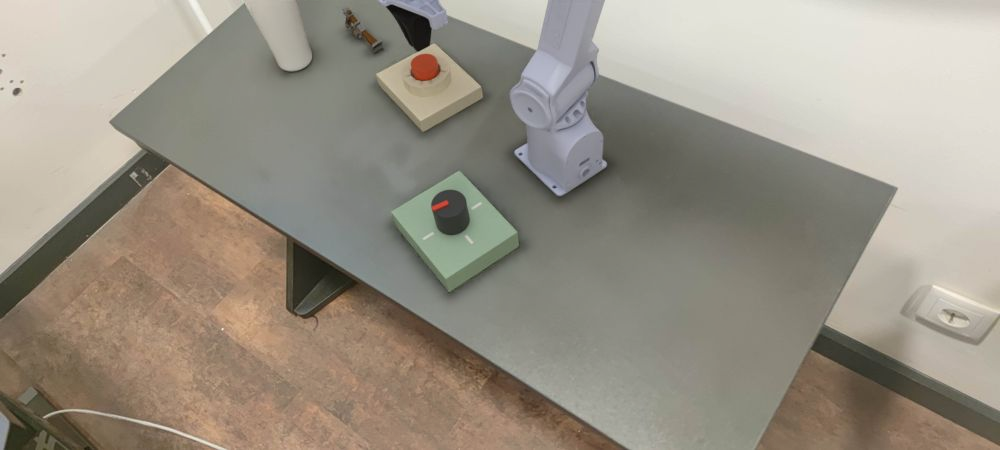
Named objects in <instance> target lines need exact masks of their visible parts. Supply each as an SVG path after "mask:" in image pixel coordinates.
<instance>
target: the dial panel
mask: <svg viewBox="0 0 1000 450" xmlns="http://www.w3.org/2000/svg"><path fill="white" fill-rule="evenodd" d="M444 190H457V191H459V192H461V193H462V194H463V195H464V196H465V198H466V202H467V207H468V212H469V217H470V222H469V225H468V227H467V228H466V229H465V230H464V231H463V232H461V233H459V234H456V235H446V234H444V233H442V232H440V231H439V230H438V228H437V226H436V223H435V219H434V216H433V212H432V208H431V203H432V200H433V198H434V197H435V196H436V195H437V194H438V193H439V192H441V191H444ZM390 214H391V216H392V219H393V222H394V225H395V227H396V228H397V230H398V231H399V233H401V234H402V236H403V237H404V238H405V240H406V241H407V242H408V243H409V245H410V246H411V247H412V249H414V251H415V252H416V253H417V254H418V256H419V257H420V258H421V259H422V260H423V262H424V263H425V264H426V266H427V267H428V268H429V269H430V270H431V272H432V273H433V275H435V277H436V278H437V279H438V280H439V282H440V283H441V284H442V286H444V288H445V289H446V290H447V292H448V293H450V292H452V291H454V290H455V289H456V288H457V289H458V287H460V286H461V285H463V284H464V283H465V282H467V281H469V280H470V279H471V278H473V277H475V276H477V275H478V274H479V273H481V272H482V271H483V270H486V269H487V268H489V267H490V266H492V265H493V264H494V263H496V262H498V261H499V260H501V259H502V258H504V257H505V256H507V255H508V254H510V253H511V252H513V251H514V250H516V249H517V248H519V247H520V244H519V243H520V242H519V234H518V233H519V232H518V231H517V230H516V229H515V228H514V226H513V225H512V224H511V223H510V222H509V221H508V220H507V219H506V218H505V217H504V216H503V215H502V214H501V213H500V211H498V209H497V208H495V207H494V205H493V204H492V203H491V202H490V201H489V200H488V199H487V198H486V196H484V194H482V192H480V191H479V189H478V188H477V187H476V186H475V185H474V184H473V183H472V182H471V181H470V180H469V179H468V177H467V176H465V175H464V173H463V172H462V171H461V170H458V171H456V172H455V173H453V174H451V175H449V176H448V177H446V178H445V179H443V180H441V181H439V182H437V183H436V184H435V185H432V186H431V187H429V188H428V189H426V190H425V191H423V192H420V193H419V194H417V195H416V196H414V197H413V198H411V199H409V200H408V201H406V202H404V203H403V204H401V205H399V206H398V207H395V209H393V210H391V211H390Z"/></svg>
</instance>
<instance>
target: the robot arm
mask: <svg viewBox="0 0 1000 450" xmlns="http://www.w3.org/2000/svg"><path fill="white" fill-rule="evenodd" d="M605 1H606V0H547V5H546V9H545V14H544V17H543V23H542V28H541V31H540V35H539V41H538V46H537V48H536V50H535V52H534V53H533V55H532V57H531V58H530V60H529V61H528V62H527V65H526V66H525V68H524V69H523V71H522V73H521V75H520V80H519V82H517V83H516V84H515V85H514V86H513V87H511V89H510V92H509V100H510V101H509V102H510V105H511V107H512V110H513V111H514V113H515V114H516V116H517V117H518V118H519V119H520V121H522V122H523V123H524V124H525V130H526V143H525V144H522V145H521V146H520V147H518V148H517V149H515V150H514V156H515V157H516V158H517V159H518V160H519V161H520V162H521V163H523V165H524V166H525V167H526V168H527V169H529V170H530V172H532V173H533V175H535V176H536V177H537V178H538V179H539V180H540V181H541V182H542V184H544V185H545V186H546V187H547V188H548V189H549V190H550V191H551V192H552V193H553V194H554V195H555V196H557V197H563V196H565V195H566V194H568V193H569V192H571V191H572V190H574V189H575V188H576V187H578V186H579V185H582V184H583V183H584V182H586V181H587V180H589V179H590V178H593V177H594V176H595V175H597V174H598V173H600V172H601V171H603V170H605V169H606V168H607V167H608V162H607V161H606V160H605V159H603V158H604V157H603V155H604V134H603V133H602V132H601V130H599V128H598V127H596V125H595V123H593V121H592V120H591V118H590V116H589V113H588V110H587V99H588V97H589V89H590V87H593V85H595V84H596V83H597V82H598V79H599V75H600V72H599V66H598V54H599V51H600V48H599V47H598V45H596V44H595V42H594V41H593V39H594V36H595V34H596V30H597V27H598V23H599V20H600V17H601V14H602V11H603V8H604V5H605ZM376 2H377V3H378V4H379V5H380V6H382V7H385V8H386V9H387V10H388V11H389V13H390V15H392V16H393V19H394V20H395V21H396V23H397V25H398V27H399V29H400V30H401V32H402V34H403V36H404V38H405V40H406V41H407V43H408V44H409V46H411V48H413V49H414V50H415V52H416V53H417V52H419V51H421V50H423V49H425V48H427V47H429V46H430V45H431V41H432V31H436V30H438V29H441V28H442V27H444V26H447V25H448V24H449V20H448V13H447V10H446V9H445V7H443V5H442V4H441V2H440V0H376Z"/></svg>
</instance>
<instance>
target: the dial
mask: <svg viewBox="0 0 1000 450" xmlns="http://www.w3.org/2000/svg"><path fill="white" fill-rule="evenodd" d="M431 208H432V212H433V216H434V219H435V223H436V226H437V228H438V230H439V231H440V232H442V233H444V234H446V235H456V234H459V233H461V232H463V231H464V230H465V229H466V228H467V227H468V225H469V222H470V217H469V212H468V207H467V202H466V198H465V196H464V195H463V194H462V193H461V192H459V191H457V190H444V191H441V192H439V193H438V194H437V195H436V196H435V197H434V198H433V200H432V203H431Z"/></svg>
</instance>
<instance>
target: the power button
mask: <svg viewBox="0 0 1000 450" xmlns="http://www.w3.org/2000/svg"><path fill="white" fill-rule="evenodd" d="M411 68H412V73H413V76H414V77H415V78H416V79H417V80H419V81H428V80H432V79H433V78H435V77H436V76H437V75H438V73H439V68H438V63H437V59H436V58H435V56H433V55H431V54H420V55H418V56H416V57H414V58H413V60H412V61H411Z"/></svg>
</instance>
